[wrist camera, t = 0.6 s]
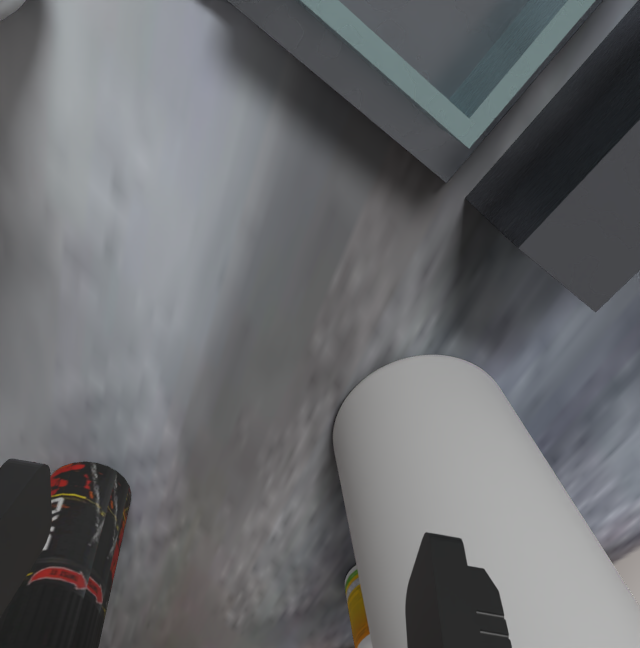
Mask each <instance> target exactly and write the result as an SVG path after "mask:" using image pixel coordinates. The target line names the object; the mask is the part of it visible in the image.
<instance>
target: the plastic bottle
mask: <svg viewBox="0 0 640 648" xmlns="http://www.w3.org/2000/svg"><path fill="white" fill-rule="evenodd" d="M25 1H26V0H0V21H1V20H3V19H5V18H6V17H8V16H9V15H11V14H12V13H14V12H15V11H16V10H17V9H18V8H20V7H21V6H22V4H23V3H24V2H25Z"/></svg>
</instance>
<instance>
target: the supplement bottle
mask: <svg viewBox="0 0 640 648" xmlns="http://www.w3.org/2000/svg"><path fill="white" fill-rule="evenodd" d="M345 593H346V599H347V604H348V610H349V616H350V621H351V627H352V634H353V639H354V645H355V648H373V647H372V642H371V636H370V631H369V626H368V621H367V616H366V611H365V606H364V601H363V596H362V591H361V585H360V580H359V575H358V570H357V565H355V566H354V567H353V568H352V569H351V570H350V571H349V572H348V574H347V576H346V579H345Z"/></svg>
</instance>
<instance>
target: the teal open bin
mask: <svg viewBox="0 0 640 648" xmlns="http://www.w3.org/2000/svg"><path fill="white" fill-rule="evenodd" d="M227 1H228V2H230V3H231V4H232V5H233V6H234V7H236V8H237V9H238V10H239V11H240V12H242V13H243V14H244V15H245V16H246V17H248V18H249V19H250V20H251V21H252V22H254V23H255V24H256V25H257V26H258V27H260V28H261V29H262V30H263V31H264V32H266V33H267V34H268V35H269V36H270V37H272V38H273V39H274V40H275V41H276V42H278V43H279V44H280V45H281V46H282V47H284V48H285V49H286V50H287V51H288V52H290V53H291V54H292V55H293V56H294V57H296V58H297V59H298V60H299V61H300V62H302V63H303V64H304V65H305V66H306V67H308V68H309V69H310V70H311V71H312V72H314V73H315V74H316V75H317V76H318V77H320V78H321V79H322V80H323V81H325V82H326V83H327V84H328V85H329V86H331V87H332V88H333V89H334V90H335V91H337V92H338V93H339V94H340V95H341V96H343V97H344V98H345V99H346V100H347V101H349V102H350V103H351V104H352V105H353V106H355V107H356V108H357V109H358V110H359V111H361V112H362V113H363V114H364V115H365V116H367V117H368V118H369V119H370V120H371V121H373V122H374V123H375V124H376V125H377V126H379V127H380V128H381V129H382V130H383V131H385V132H386V133H387V134H388V135H389V136H391V137H392V138H393V139H394V140H395V141H397V142H398V143H399V144H400V145H401V146H403V147H404V148H405V149H406V150H407V151H409V152H410V153H411V154H412V155H413V156H415V157H416V158H417V159H418V160H419V161H421V162H422V163H423V164H424V165H425V166H427V167H428V168H429V169H430V170H431V171H433V172H434V173H435V174H436V175H437V176H439V177H440V178H441V179H442V180H443V181H445V182H446V183H447V182H448V180H449V179H450V178H451V177H452V176H453V175H454V173H455V172H456V171H457V170H458V169H459V168H460V166H461V165H462V164H463V163H464V162H465V161H466V159H467V158H468V157H469V156H470V155H471V154H472V152H473V151H474V150H475V149H476V148H477V147H478V145H479V144H480V143H481V142H482V141H483V140H484V138H485V137H486V136H487V135H488V134H489V132H490V131H491V130H492V129H493V128H494V127H495V125H496V124H497V123H498V122H499V121H500V120H501V118H502V117H503V116H504V115H505V114H506V113H507V111H508V110H509V109H510V108H511V107H512V106H513V104H514V103H515V102H516V101H517V100H518V99H519V97H520V96H521V95H522V94H523V93H524V92H525V90H526V89H527V88H528V87H529V86H530V85H531V83H532V82H533V81H534V80H535V79H536V78H537V76H538V75H539V74H540V73H541V72H542V71H543V69H544V68H545V67H546V66H547V65H548V64H549V62H550V61H551V60H552V59H553V58H554V57H555V55H556V54H557V53H558V52H559V51H560V49H561V48H562V47H563V46H564V45H565V44H566V42H567V41H568V40H569V39H570V38H571V37H572V35H573V34H574V33H575V32H576V31H577V30H578V28H579V27H580V26H581V25H582V24H583V23H584V21H585V20H586V19H587V18H588V17H589V16H590V14H591V13H592V12H593V11H594V10H595V9H596V7H597V6H598V5H599V4H600V3H601V2H602V0H227ZM466 199H467V200H468V201H469V202H470V203H471V204H472V205H473V206H474V207H475V208H476V209H477V210H478V211H479V212H481V213H482V214H483V215H484V216H485V217H486V218H487V219H488V220H489V221H490V222H491V223H492V224H493V225H494V226H495V227H496V228H497V229H499V230H500V231H501V232H502V233H503V234H504V235H505V236H506V237H507V238H508V239H509V240H510V241H511V242H512V243H513V244H514V245H515V246H517V247H518V248H519V249H520V250H521V251H522V252H523V253H525V254H526V255H527V256H528V257H530V258H531V259H532V260H533V261H534V262H536V263H537V264H538V265H539V266H540V267H542V268H543V269H544V270H545V271H546V272H548V273H549V274H550V275H551V276H552V277H554V278H555V279H556V280H557V281H559V282H560V283H561V284H562V285H563V286H565V287H566V288H567V289H568V290H569V291H571V292H572V293H573V294H574V295H575V296H577V297H578V298H579V299H580V300H581V301H583V302H584V303H585V304H586V305H588V306H589V307H590V308H591V309H592V310H594V311H595V312H596V311H598V310H599V309H600V308H601V307H602V306H603V305H604V304H605V303H606V302H607V301H608V300H609V299H610V298H611V297H612V296H613V295H614V294H615V293H616V292H617V291H618V290H619V289H620V288H621V287H623V286H624V285H625V284H626V283H627V282H628V281H629V280H630V279H631V278H632V277H633V276H634V275H635V274H636V273H637V272H638V271H639V270H640V0H639V1H638V2H637V3H636V4H635V5H634V6H633V7H632V9H631V10H630V11H629V12H628V13H627V14H626V15H625V17H624V18H623V19H622V20H621V21H620V22H619V23H618V25H617V26H616V27H615V28H614V29H613V30H612V31H611V33H610V34H609V35H608V36H607V37H606V38H605V39H604V41H603V42H602V43H601V44H600V45H599V46H598V47H597V49H596V50H595V51H594V52H593V53H592V54H591V55H590V56H589V58H588V59H587V60H586V61H585V62H584V63H583V64H582V66H581V67H580V68H579V69H578V70H577V71H576V72H575V74H574V75H573V76H572V77H571V78H570V79H569V80H568V82H567V83H566V84H565V85H564V86H563V87H562V88H561V90H560V91H559V92H558V93H557V94H556V95H555V96H554V98H553V99H552V100H551V101H550V102H549V103H548V104H547V106H546V107H545V108H544V109H543V110H542V111H541V112H540V114H539V115H538V116H537V117H536V118H535V119H534V120H533V122H532V123H531V124H530V125H529V126H528V127H527V128H526V129H525V131H524V132H523V133H522V134H521V135H520V136H519V137H518V139H517V140H516V141H515V142H514V143H513V144H512V145H511V147H510V148H509V149H508V150H507V151H506V152H505V153H504V155H503V156H502V157H501V158H500V159H499V160H498V161H497V163H496V164H495V165H494V166H493V167H492V168H491V169H490V171H489V172H488V173H487V174H486V175H485V176H484V177H483V179H482V180H481V181H480V182H479V183H478V184H477V185H476V187H475V188H474V189H473V190H472V191H471V192H470V193H469V195H468V196H467V197H466Z"/></svg>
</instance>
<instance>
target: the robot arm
mask: <svg viewBox="0 0 640 648" xmlns="http://www.w3.org/2000/svg"><path fill="white" fill-rule="evenodd" d="M51 524H52V503H51V479H50V469H49V466H48V465H46V464H40V463H35V462H29V461H23V460H17V459H9V460H7V461H6V462H5V463H4V464H3V465H2V466H1V468H0V617H1V616H2V614H3V612H4V611H5V609H6V608H7V606H8V604H9V603H10V601H11V600H12V598H13V596H14V595H15V593H16V592H17V590H18V588H19V587H20V585H21V584H22V582H23V580H24V579H25V577H26V576H27V574H28V572H29V571H30V569H31V568H32V566H33V564H34V563H35V561H36V560H37V558H38V556H39V555H40V553H41V552H42V550H43V548H44V546H45V544H46V542H47V539H48V537H49V533H50V530H51ZM405 617H406V632H407V648H512V645H511V640H510V639H509V632H508V628H507V623H506V619H504V611H503V606H502V602H501V598H500V594H499V590H498V589H497V587H496V586H495V584H494V583H493V581H492V580H491V578H490V577H489V575H488V574H487V572H486V571H485V569H484V568H478V567H473V566H468V565H467V560H466V554H465V549H464V544H463V541H462V539H461V538H458V537H452V536H446V535H440V534H435V533H429V532H426V533H425V534H424V536H423V538H422V541H421V544H420V548H419V551H418V554H417V557H416V560H415V563H414V566H413V570H412V573H411V576H410V579H409V582H408V587H407V593H406V602H405Z"/></svg>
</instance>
